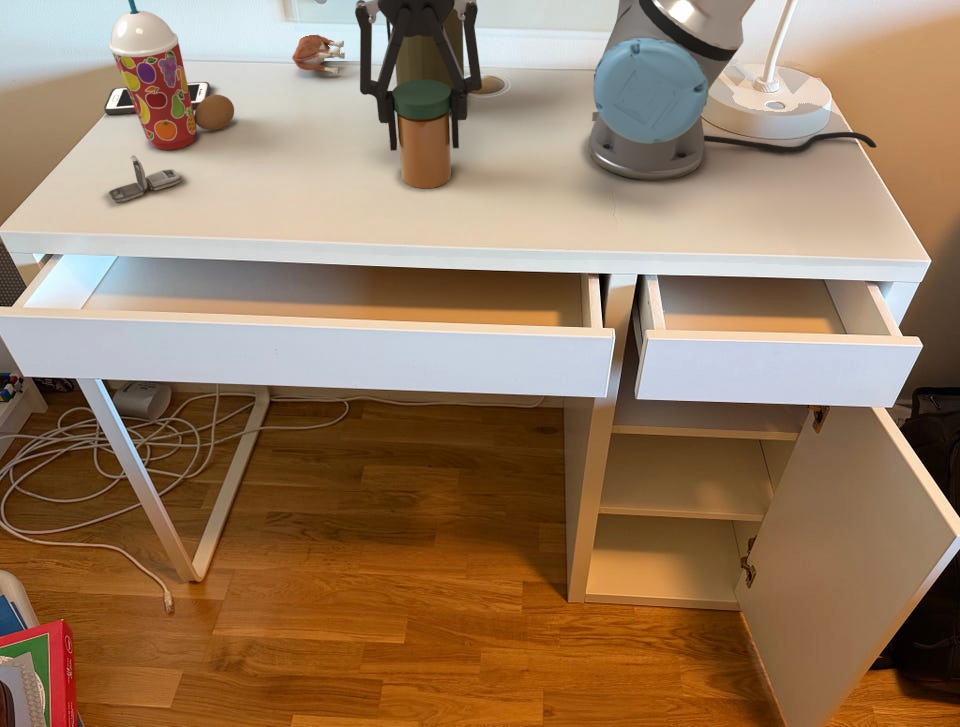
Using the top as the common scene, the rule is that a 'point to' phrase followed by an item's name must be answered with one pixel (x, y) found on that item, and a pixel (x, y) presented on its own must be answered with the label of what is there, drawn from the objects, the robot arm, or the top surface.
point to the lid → (421, 99)
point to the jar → (425, 150)
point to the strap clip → (145, 182)
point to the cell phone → (123, 104)
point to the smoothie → (154, 77)
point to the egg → (214, 112)
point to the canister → (429, 54)
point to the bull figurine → (316, 53)
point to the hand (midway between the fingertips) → (424, 143)
